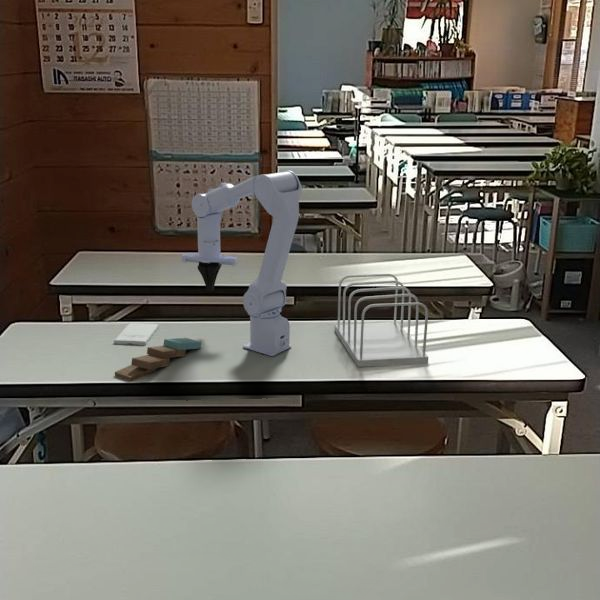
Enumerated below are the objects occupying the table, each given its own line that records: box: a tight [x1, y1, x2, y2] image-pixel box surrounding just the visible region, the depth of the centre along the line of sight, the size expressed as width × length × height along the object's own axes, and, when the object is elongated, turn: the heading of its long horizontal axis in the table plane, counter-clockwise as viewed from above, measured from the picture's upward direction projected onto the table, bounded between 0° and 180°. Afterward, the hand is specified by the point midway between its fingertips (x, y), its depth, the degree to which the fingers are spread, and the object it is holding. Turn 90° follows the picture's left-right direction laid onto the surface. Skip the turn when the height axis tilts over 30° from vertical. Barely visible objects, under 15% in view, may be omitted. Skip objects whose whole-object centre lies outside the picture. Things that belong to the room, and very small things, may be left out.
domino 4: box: [162, 337, 202, 351], centre depth 180 cm, size 2×5×8 cm
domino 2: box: [130, 354, 171, 370], centre depth 169 cm, size 2×5×8 cm
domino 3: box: [146, 345, 187, 359], centre depth 175 cm, size 2×5×8 cm
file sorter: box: [333, 273, 429, 368], centre depth 183 cm, size 25×17×16 cm
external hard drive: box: [113, 322, 160, 346], centre depth 190 cm, size 2×8×12 cm
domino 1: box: [114, 364, 157, 382], centre depth 168 cm, size 2×5×8 cm
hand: (210, 290), depth 193 cm, fingers closed
